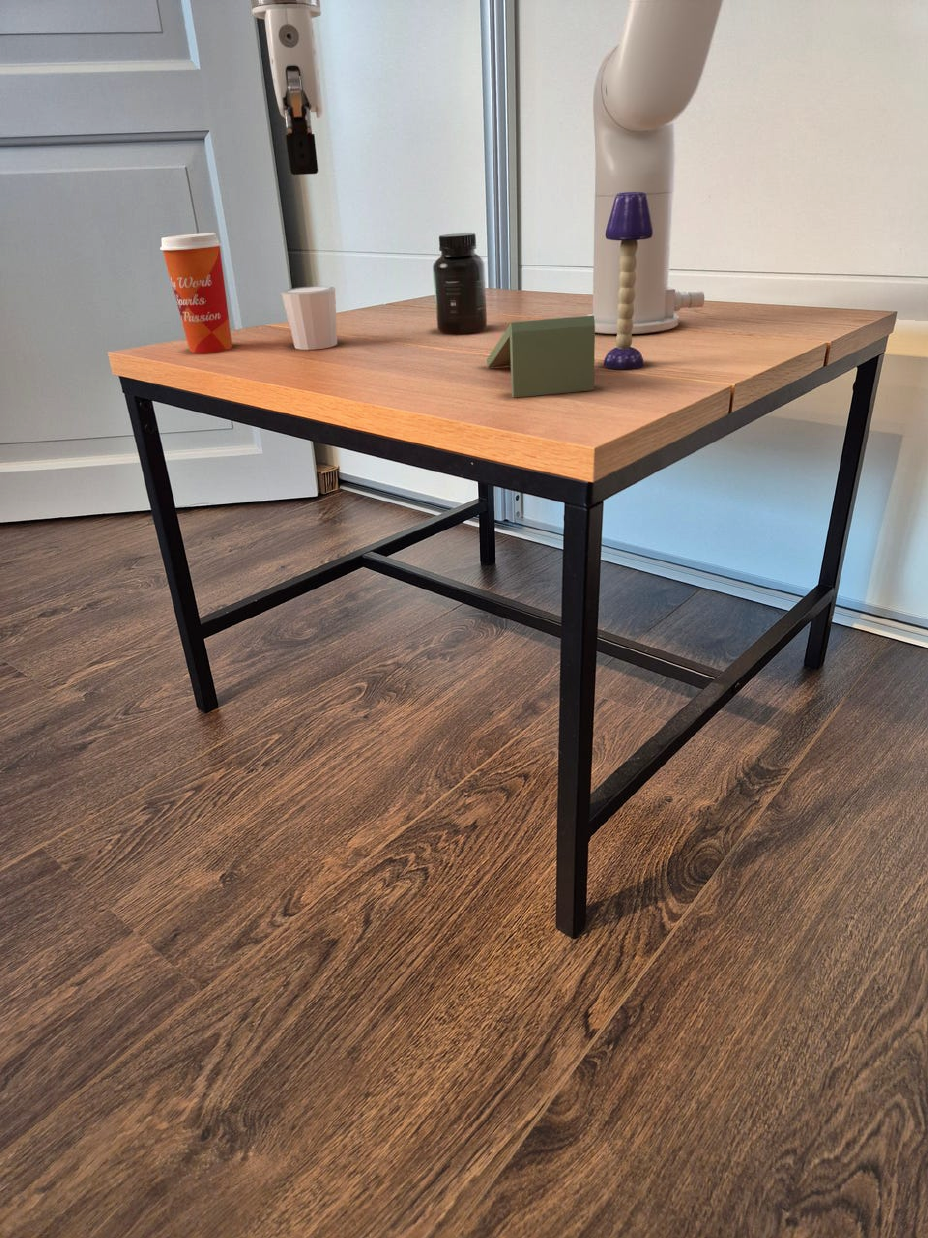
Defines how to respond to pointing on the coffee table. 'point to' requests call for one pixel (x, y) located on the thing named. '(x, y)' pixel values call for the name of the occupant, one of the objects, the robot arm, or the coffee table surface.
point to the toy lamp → (627, 271)
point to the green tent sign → (548, 355)
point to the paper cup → (199, 290)
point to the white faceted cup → (311, 316)
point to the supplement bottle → (459, 285)
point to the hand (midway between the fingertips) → (305, 174)
